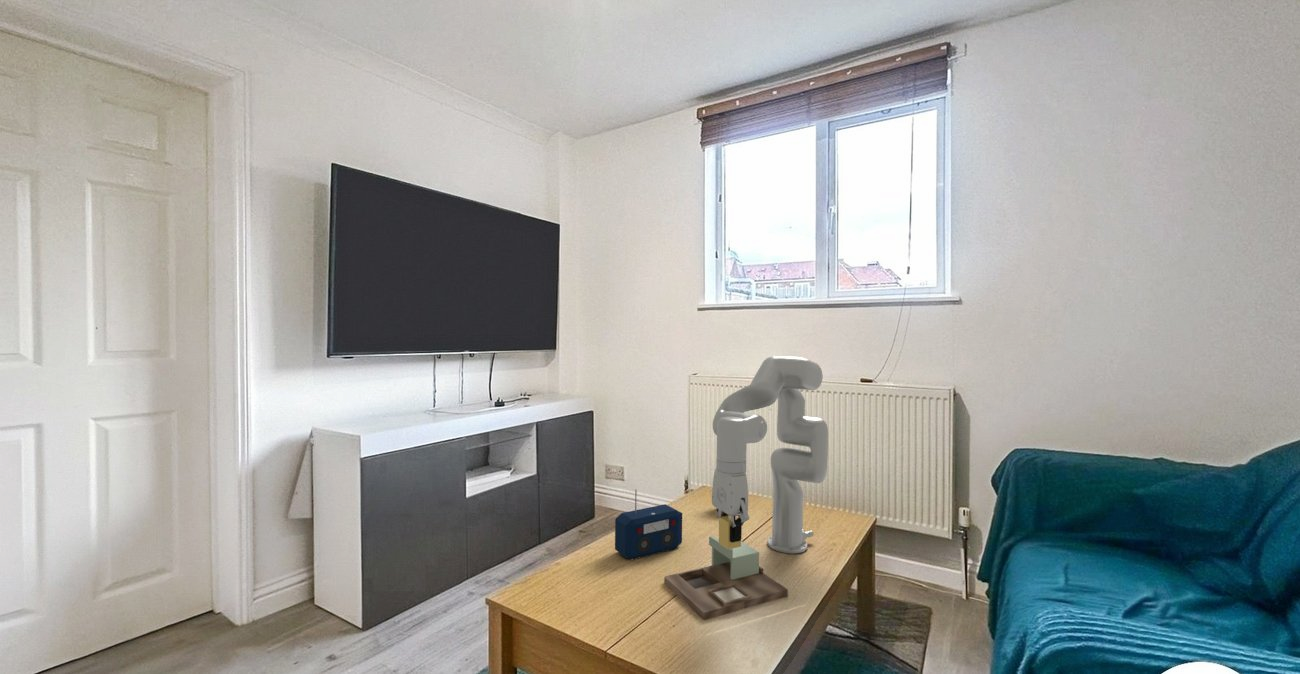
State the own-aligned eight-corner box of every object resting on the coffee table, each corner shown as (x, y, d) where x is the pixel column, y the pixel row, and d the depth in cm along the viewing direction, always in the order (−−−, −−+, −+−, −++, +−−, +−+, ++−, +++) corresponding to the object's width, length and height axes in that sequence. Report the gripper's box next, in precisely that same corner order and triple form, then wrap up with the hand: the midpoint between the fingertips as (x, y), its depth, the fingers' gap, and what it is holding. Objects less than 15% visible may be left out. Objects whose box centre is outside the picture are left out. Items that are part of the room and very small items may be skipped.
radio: (627, 563, 155) (628, 496, 155) (613, 552, 162) (614, 488, 162) (684, 548, 166) (685, 486, 166) (669, 538, 173) (669, 479, 173)
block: (731, 540, 135) (732, 514, 135) (741, 546, 132) (741, 519, 131) (718, 543, 133) (719, 517, 133) (728, 549, 130) (728, 522, 130)
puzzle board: (741, 565, 154) (741, 554, 154) (787, 596, 137) (787, 584, 137) (664, 583, 143) (664, 572, 143) (703, 620, 125) (704, 607, 125)
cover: (737, 558, 154) (737, 530, 154) (758, 573, 145) (759, 543, 145) (708, 565, 149) (709, 536, 149) (729, 580, 140) (729, 549, 140)
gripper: (700, 460, 138) (699, 528, 138) (738, 476, 123) (737, 553, 123) (724, 457, 141) (723, 524, 142) (764, 472, 126) (762, 547, 127)
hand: (730, 537), depth 132 cm, fingers closed on block, 4 cm apart
